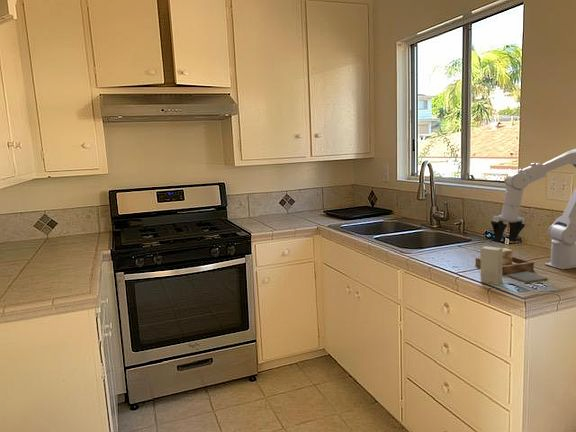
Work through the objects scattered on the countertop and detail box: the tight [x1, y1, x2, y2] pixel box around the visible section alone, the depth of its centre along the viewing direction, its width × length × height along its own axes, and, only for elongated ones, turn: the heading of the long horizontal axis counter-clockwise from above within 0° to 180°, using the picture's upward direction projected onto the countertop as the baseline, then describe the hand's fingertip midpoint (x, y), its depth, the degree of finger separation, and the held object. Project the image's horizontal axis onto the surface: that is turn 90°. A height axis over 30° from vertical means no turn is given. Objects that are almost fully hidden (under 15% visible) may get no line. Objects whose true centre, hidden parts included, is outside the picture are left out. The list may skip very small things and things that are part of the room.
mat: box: [505, 271, 548, 284], centre depth 157 cm, size 9×9×1 cm
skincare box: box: [480, 245, 503, 286], centre depth 153 cm, size 6×4×12 cm
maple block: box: [501, 247, 514, 265], centre depth 169 cm, size 4×4×5 cm
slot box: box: [474, 255, 535, 276], centre depth 170 cm, size 14×14×3 cm
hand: (504, 241), depth 168 cm, fingers open, 7 cm apart
